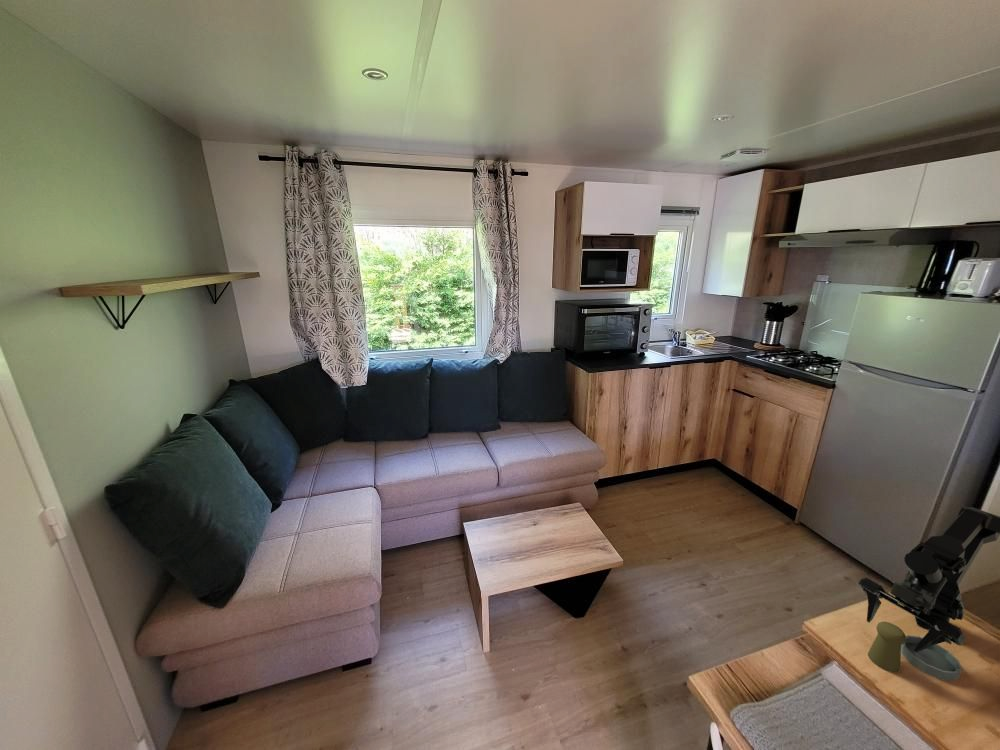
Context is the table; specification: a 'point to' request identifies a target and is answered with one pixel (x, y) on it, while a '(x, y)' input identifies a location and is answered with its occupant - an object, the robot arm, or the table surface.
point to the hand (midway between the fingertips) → (890, 636)
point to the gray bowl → (932, 659)
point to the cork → (887, 647)
